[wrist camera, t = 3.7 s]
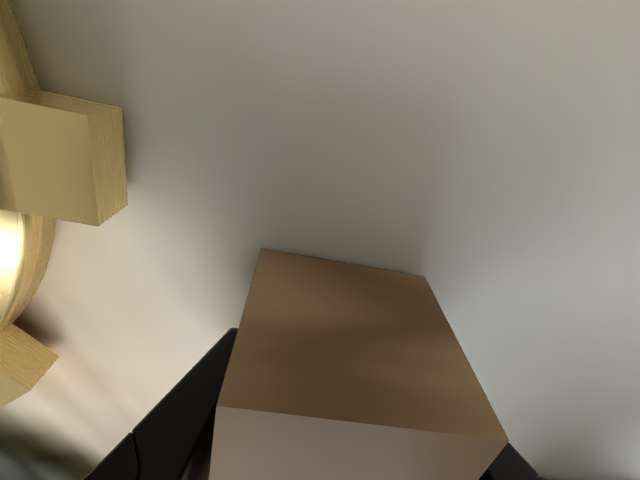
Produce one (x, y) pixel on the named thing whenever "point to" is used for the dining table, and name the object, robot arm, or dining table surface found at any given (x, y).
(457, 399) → the block
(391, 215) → the dining table surface
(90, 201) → the sprocket
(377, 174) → the dining table surface
